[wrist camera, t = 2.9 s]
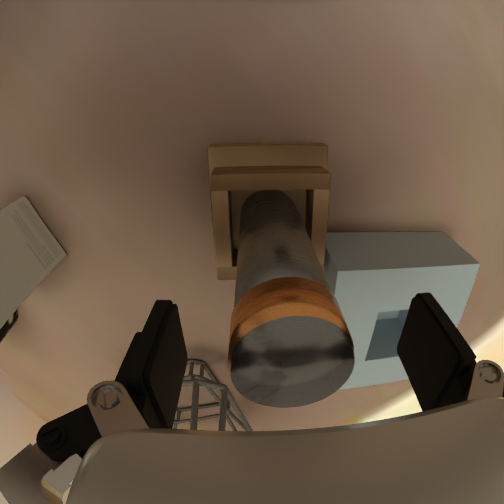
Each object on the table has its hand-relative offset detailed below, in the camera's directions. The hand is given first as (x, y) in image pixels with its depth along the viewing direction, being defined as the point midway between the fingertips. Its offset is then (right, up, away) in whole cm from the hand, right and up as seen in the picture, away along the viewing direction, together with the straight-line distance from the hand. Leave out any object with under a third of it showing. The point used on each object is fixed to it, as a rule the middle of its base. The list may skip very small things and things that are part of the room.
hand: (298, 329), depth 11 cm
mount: (-1, +6, +12) cm, 13 cm away
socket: (+10, -1, +15) cm, 18 cm away
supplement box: (-24, +4, +13) cm, 27 cm away
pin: (-1, +5, +10) cm, 12 cm away
